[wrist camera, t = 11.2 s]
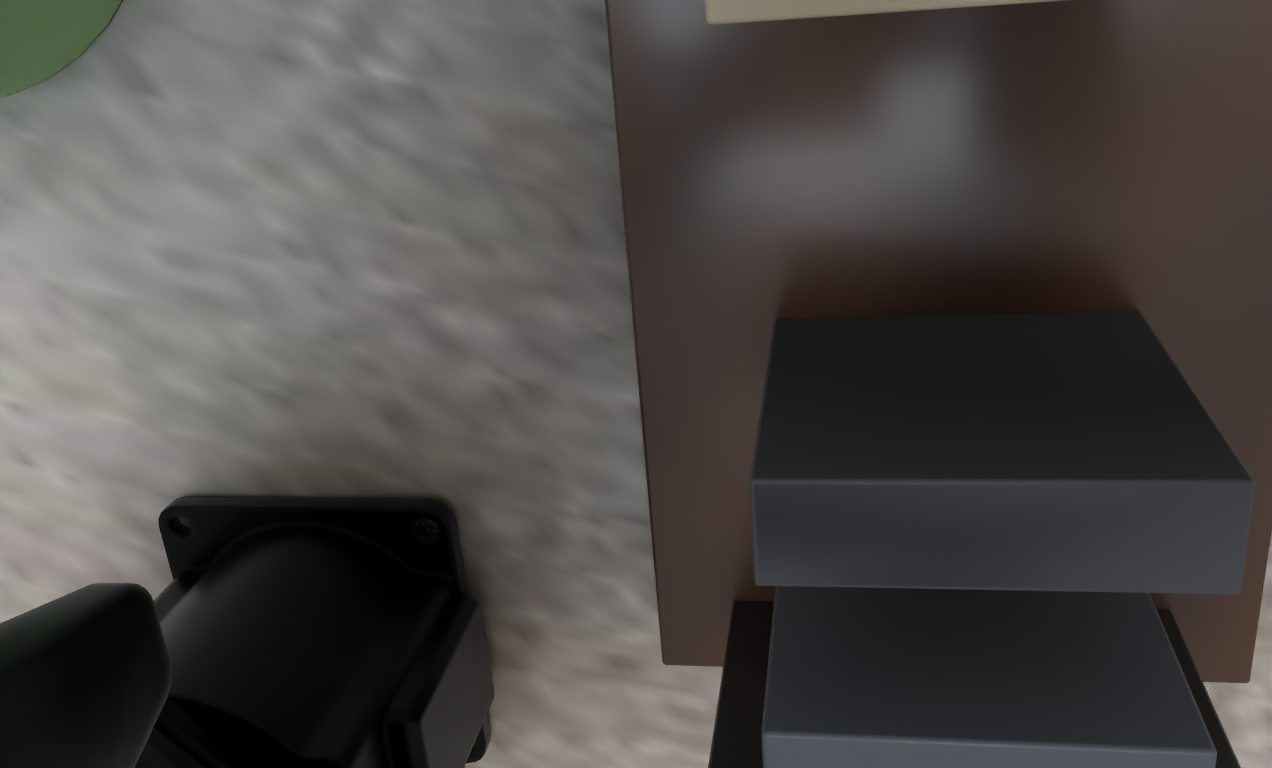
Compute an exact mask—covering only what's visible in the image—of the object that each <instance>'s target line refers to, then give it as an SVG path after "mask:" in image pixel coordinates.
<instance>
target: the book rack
mask: <svg viewBox="0 0 1272 768" xmlns="http://www.w3.org/2000/svg"><path fill="white" fill-rule="evenodd" d="M605 6H606V17H607V29H608V40H609V52H610V63H611V75H612V86H613V98H614V109H615V121H616V132H617V144H618V155H619V167H620V178H621V190H622V201H623V213H624V224H625V236H626V247H627V259H628V270H629V282H630V293H631V305H632V316H633V328H634V339H635V351H636V362H637V374H638V385H639V397H640V408H641V420H642V431H643V443H644V454H645V466H646V477H647V489H648V500H649V512H650V523H651V535H652V546H653V558H654V569H655V581H656V592H657V604H658V615H659V627H660V638H661V650H662V661H663V663H664V664H665V665H687V666H719V667H723V672H722V679H721V685H720V692H719V698H718V705H717V712H716V718H715V725H714V732H713V738H712V745H711V751H710V758H709V765H708V768H763V756H762V735H761V733H762V722H763V712H764V701H765V691H766V680H767V670H768V659H769V649H770V638H771V628H772V617H773V607H774V596H775V586H761V585H756V584H755V582H754V568H753V548H752V528H751V507H750V487H749V480H750V474H751V467H752V461H753V454H754V448H755V441H756V435H757V428H758V422H759V415H760V409H761V402H762V396H763V390H764V383H765V377H766V370H767V364H768V357H769V351H770V344H771V338H772V331H773V325H774V321H775V320H776V319H802V318H849V317H896V316H943V315H990V314H1037V313H1085V312H1132V311H1139V312H1141V313H1142V315H1143V316H1144V318H1145V319H1146V321H1147V322H1148V324H1149V325H1150V327H1151V328H1152V330H1153V331H1154V333H1155V334H1156V336H1157V337H1158V339H1159V340H1160V342H1161V343H1162V345H1163V346H1164V348H1165V349H1166V350H1167V352H1168V353H1169V355H1170V356H1171V358H1172V359H1173V361H1174V362H1175V364H1176V365H1177V367H1178V368H1179V370H1180V371H1181V373H1182V374H1183V376H1184V377H1185V379H1186V380H1187V382H1188V383H1189V385H1190V386H1191V387H1192V389H1193V390H1194V392H1195V393H1196V395H1197V396H1198V398H1199V399H1200V401H1201V402H1202V404H1203V405H1204V407H1205V408H1206V410H1207V411H1208V413H1209V414H1210V416H1211V417H1212V419H1213V420H1214V422H1215V423H1216V424H1217V426H1218V427H1219V429H1220V430H1221V432H1222V433H1223V435H1224V436H1225V438H1226V439H1227V441H1228V442H1229V444H1230V445H1231V447H1232V448H1233V450H1234V451H1235V453H1236V454H1237V456H1238V457H1239V459H1240V460H1241V462H1242V463H1243V464H1244V466H1245V467H1246V469H1247V470H1248V472H1249V473H1250V475H1251V476H1252V478H1253V479H1254V481H1255V490H1254V497H1253V505H1252V512H1251V519H1250V526H1249V534H1248V541H1247V548H1246V555H1245V562H1244V570H1243V577H1242V584H1241V591H1240V593H1239V594H1236V595H1233V594H1181V593H1150V595H1151V598H1152V600H1153V602H1154V605H1155V607H1156V610H1157V612H1158V614H1159V617H1160V619H1161V621H1162V624H1163V626H1164V628H1165V631H1166V633H1167V635H1168V638H1169V640H1170V643H1171V645H1172V647H1173V650H1174V652H1175V654H1176V657H1177V659H1178V661H1179V664H1180V666H1181V668H1182V671H1183V673H1184V675H1185V678H1186V680H1187V683H1188V685H1189V687H1190V690H1191V692H1192V694H1193V697H1194V699H1195V701H1196V704H1197V706H1198V708H1199V711H1200V713H1201V716H1202V718H1203V720H1204V723H1205V725H1206V727H1207V730H1208V732H1209V734H1210V737H1211V739H1212V741H1213V744H1214V746H1215V748H1216V751H1217V758H1216V765H1215V768H1241V767H1240V765H1239V763H1238V760H1237V758H1236V756H1235V754H1234V751H1233V749H1232V747H1231V745H1230V742H1229V740H1228V738H1227V736H1226V733H1225V731H1224V729H1223V727H1222V724H1221V722H1220V720H1219V718H1218V715H1217V713H1216V711H1215V709H1214V706H1213V704H1212V702H1211V700H1210V697H1209V695H1208V693H1207V691H1206V688H1205V686H1204V684H1203V682H1226V683H1248V682H1249V681H1250V674H1251V668H1252V661H1253V654H1254V647H1255V640H1256V634H1257V627H1258V620H1259V613H1260V606H1261V599H1262V593H1263V586H1264V579H1265V572H1266V565H1267V559H1268V552H1269V545H1270V538H1271V531H1272V0H1065V1H1051V2H1036V3H1022V4H1007V5H993V6H978V7H964V8H949V9H935V10H920V11H906V12H891V13H877V14H862V15H848V16H833V17H819V18H804V19H790V20H775V21H761V22H746V23H732V24H717V25H711V24H708V23H707V20H706V14H705V0H605Z"/></svg>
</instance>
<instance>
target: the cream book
mask: <svg viewBox="0 0 1272 768" xmlns="http://www.w3.org/2000/svg"><path fill="white" fill-rule="evenodd" d="M1051 1H1065V0H705V14H706V20H707V23H708V24H711V25H717V24H732V23H746V22H761V21H775V20H790V19H804V18H819V17H833V16H848V15H862V14H877V13H891V12H906V11H920V10H935V9H949V8H964V7H978V6H993V5H1007V4H1022V3H1036V2H1051Z"/></svg>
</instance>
